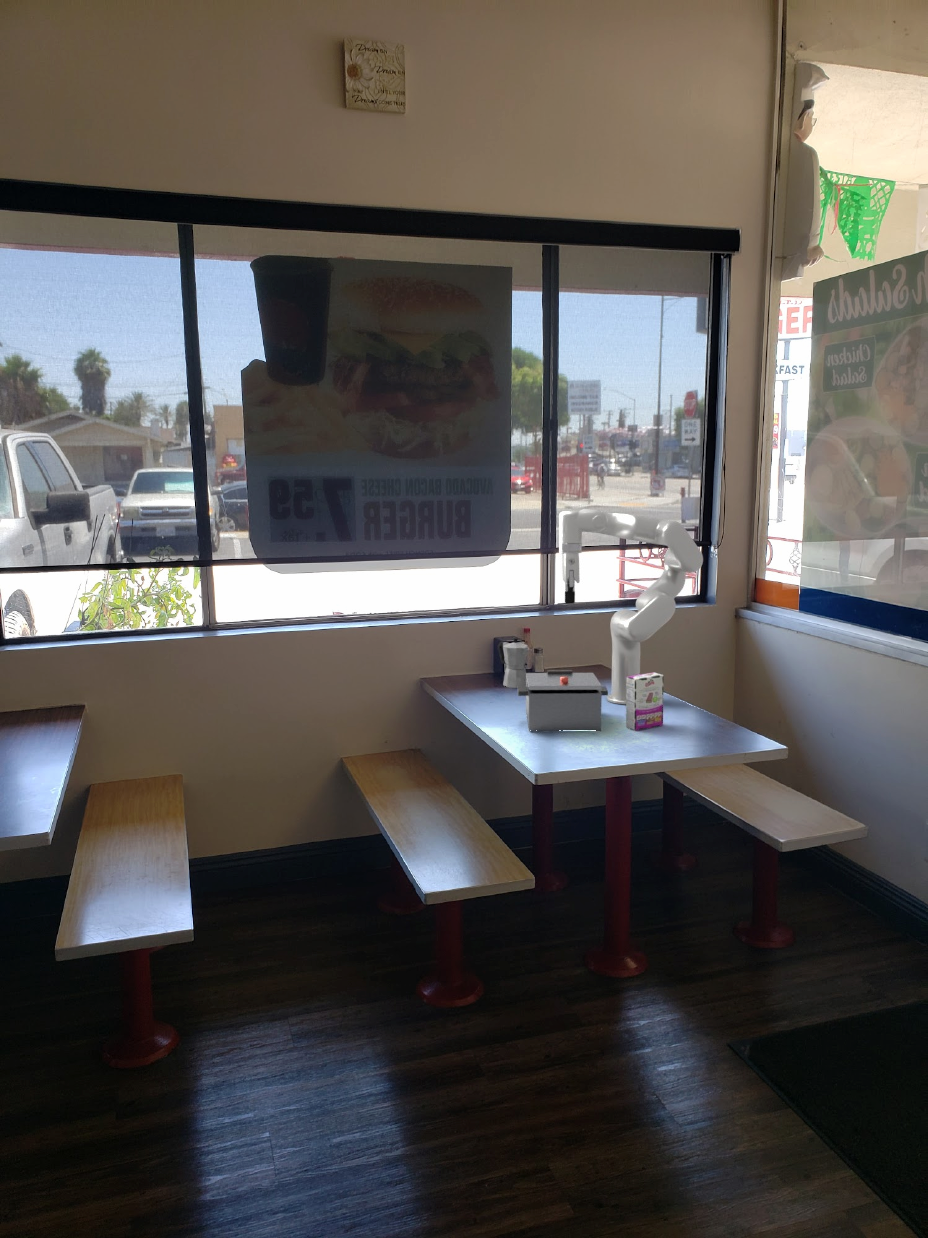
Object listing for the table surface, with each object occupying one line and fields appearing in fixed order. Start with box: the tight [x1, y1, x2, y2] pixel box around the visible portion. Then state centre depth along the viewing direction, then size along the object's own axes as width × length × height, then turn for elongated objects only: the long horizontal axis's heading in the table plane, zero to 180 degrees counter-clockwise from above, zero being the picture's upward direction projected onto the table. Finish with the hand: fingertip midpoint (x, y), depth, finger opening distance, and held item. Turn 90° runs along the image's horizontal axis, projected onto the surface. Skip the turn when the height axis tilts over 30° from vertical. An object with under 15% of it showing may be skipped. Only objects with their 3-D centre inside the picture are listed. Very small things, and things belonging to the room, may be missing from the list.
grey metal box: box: [517, 679, 609, 732], centre depth 285 cm, size 28×22×12 cm
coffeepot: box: [497, 637, 530, 689], centre depth 333 cm, size 15×9×18 cm, turn 44°
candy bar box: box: [625, 672, 665, 732], centre depth 278 cm, size 11×5×16 cm, turn 118°
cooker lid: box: [526, 669, 602, 690], centre depth 284 cm, size 22×22×3 cm
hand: (569, 603), depth 300 cm, fingers closed
